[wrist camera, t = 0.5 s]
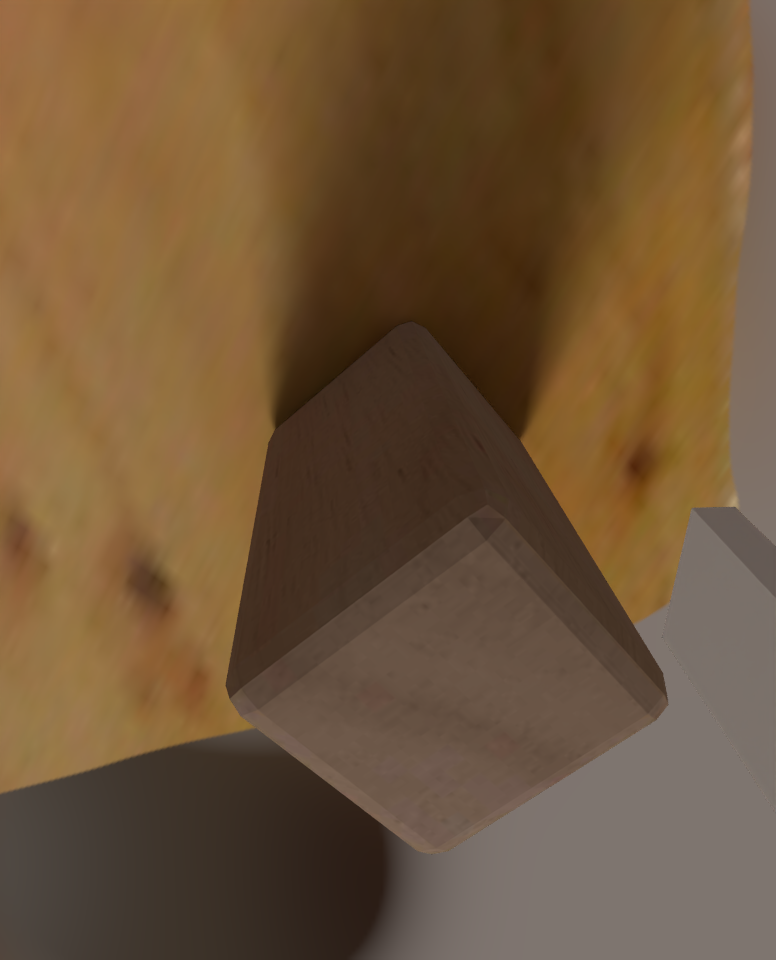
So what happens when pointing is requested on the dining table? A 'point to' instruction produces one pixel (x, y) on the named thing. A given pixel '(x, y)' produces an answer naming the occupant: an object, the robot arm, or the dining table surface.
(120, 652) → the dining table surface
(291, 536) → the block
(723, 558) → the robot arm
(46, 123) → the dining table surface
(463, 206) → the dining table surface
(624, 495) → the dining table surface
